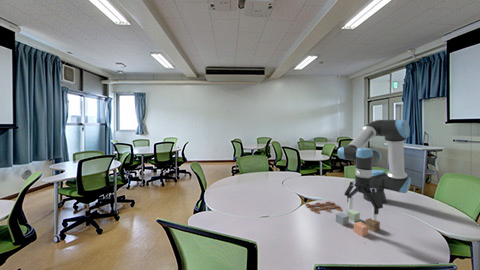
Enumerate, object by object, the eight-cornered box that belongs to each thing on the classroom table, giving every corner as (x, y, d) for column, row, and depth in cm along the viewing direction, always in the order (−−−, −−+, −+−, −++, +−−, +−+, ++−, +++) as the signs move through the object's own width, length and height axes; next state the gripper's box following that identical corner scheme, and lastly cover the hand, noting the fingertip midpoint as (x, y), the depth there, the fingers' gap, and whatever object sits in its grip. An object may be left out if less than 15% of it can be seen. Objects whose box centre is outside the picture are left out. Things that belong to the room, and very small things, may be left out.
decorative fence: (303, 205, 146) (314, 215, 131) (303, 203, 146) (315, 212, 131) (330, 202, 150) (344, 211, 136) (330, 200, 150) (344, 209, 135)
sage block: (352, 216, 127) (352, 209, 127) (359, 220, 123) (359, 212, 122) (346, 218, 125) (347, 210, 125) (354, 222, 121) (354, 214, 120)
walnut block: (370, 225, 116) (371, 217, 116) (379, 230, 112) (380, 221, 111) (365, 227, 114) (365, 219, 114) (374, 232, 110) (374, 223, 109)
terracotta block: (359, 229, 112) (359, 221, 112) (368, 234, 108) (368, 225, 107) (353, 231, 110) (353, 223, 110) (362, 236, 106) (362, 227, 105)
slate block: (341, 220, 123) (341, 212, 123) (348, 223, 119) (348, 216, 118) (335, 221, 121) (335, 214, 121) (342, 225, 117) (343, 217, 116)
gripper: (338, 171, 116) (337, 205, 118) (383, 183, 93) (381, 226, 95) (347, 170, 119) (345, 203, 121) (392, 181, 96) (390, 223, 98)
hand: (361, 213), depth 108 cm, fingers open, 13 cm apart
